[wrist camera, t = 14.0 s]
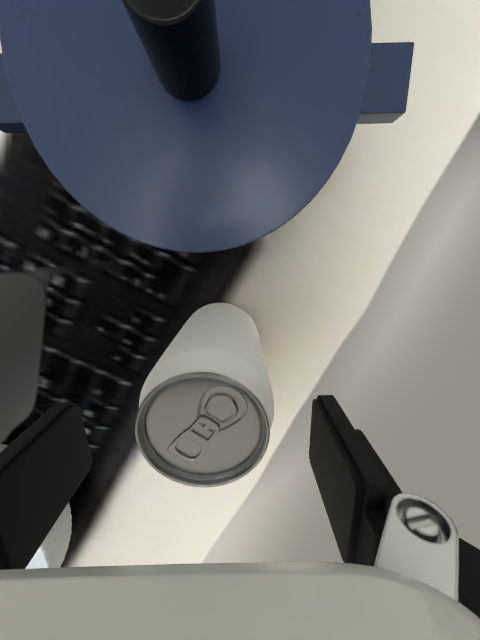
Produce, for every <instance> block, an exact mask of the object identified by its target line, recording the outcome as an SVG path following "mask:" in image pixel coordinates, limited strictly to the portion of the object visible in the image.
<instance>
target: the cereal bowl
mask: <svg viewBox="0 0 480 640" xmlns="http://www.w3.org/2000/svg"><path fill="white" fill-rule="evenodd" d="M7 446H8V445H6V444H1V443H0V452H1V451H2V450H3V449H5V448H6V447H7ZM71 519H72V515H71V508H70V505H69V503H68V504H67V506H66V507H65V509H64V510H63V512H62V513H61V515H60V516H59V518H58V519H57V521H56V523H55V524H54V526H53V527H52V529H51V530H50V532H49V533H48V535H47V536H46V538H45V539H44V541H43V543H42V544H41V546H40V547H39V549H38V550H37V552H36V553H35V555H34V556H33V558H32V559H31V561H30V563H29V564H28V566H27V567H26V568H25V569H38V568H60V566H61V564H62V562H63V560H64V557H65V554H66V551H67V549H68V544H69V542H70V535H71V527H72V523H71Z"/></svg>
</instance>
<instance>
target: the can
mask: <svg viewBox="0 0 480 640" xmlns="http://www.w3.org/2000/svg"><path fill="white" fill-rule="evenodd" d="M273 417H274V400H273V394H272V389H271V384H270V380H269V375H268V371H267V367H266V362H265V358H264V354H263V350H262V346H261V342H260V338H259V334H258V330H257V327H256V325H255V323H254V321H253V319H252V318H251V317H250V315H249V314H248V313H246V312H245V311H244V310H242V309H240V308H239V307H237V306H234V305H231V304H228V303H212V304H208V305H206V306H203V307H201V308H200V309H198V310H197V311H195V312H194V313H193V314H192V315H191V316H190V318H189V319H188V320H187V321H186V323H185V324H184V326H183V327H182V328H181V330H180V331H179V332H178V334H177V335H176V337H175V338H174V339H173V341H172V342H171V344H170V345H169V346H168V348H167V349H166V351H165V352H164V353H163V355H162V356H161V358H160V359H159V360H158V362H157V363H156V365H155V366H154V368H153V369H152V371H151V372H150V374H149V376H148V377H147V379H146V381H145V383H144V385H143V388H142V391H141V394H140V400H139V409H138V412H137V416H136V420H135V436H136V440H137V444H138V447H139V449H140V451H141V453H142V455H143V456H144V458H145V459H146V460H147V462H148V463H149V464H150V465H151V466H152V467H153V468H154V469H155V470H156V471H158V472H159V473H160V474H162V475H163V476H165V477H167V478H169V479H171V480H173V481H175V482H178V483H181V484H184V485H189V486H195V487H214V486H220V485H225V484H228V483H231V482H233V481H236V480H238V479H240V478H241V477H243V476H245V475H246V474H248V473H249V472H250V471H251V470H252V469H253V468H254V467H255V466H256V465H257V464H258V463H259V462H260V460H261V459H262V457H263V455H264V454H265V451H266V449H267V446H268V442H269V436H270V428H271V425H272V422H273Z"/></svg>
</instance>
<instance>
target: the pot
mask: <svg viewBox="0 0 480 640" xmlns="http://www.w3.org/2000/svg"><path fill="white" fill-rule="evenodd" d="M413 48H414V42H399V43H371V60H370V67H369V74H368V81H367V88H366V92H365V96H364V100H363V104H362V108H361V112H360V116H359V118H358V121H357V124H370V123H393V122H394V121H395V120H396V119H398V118H399V117H400V116H401V115H403V114H404V113H405V111H406V104H407V96H408V88H409V80H410V72H411V64H412V56H413ZM0 130H1V131H3V132H5V133H19V132H27V130H26V128H25V126H24V124H23V122H22V119H21V116H20V114H19V111H18V109H17V106H16V103H15V101H14V98H13V95H12V91H11V88H10V84H9V80H8V77H7V73H6V69H5V64H4V58H3V54H0Z"/></svg>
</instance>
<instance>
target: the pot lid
mask: <svg viewBox="0 0 480 640" xmlns="http://www.w3.org/2000/svg"><path fill="white" fill-rule="evenodd" d="M371 36H372V24H371V10H370V0H0V40H1V46H2V52H3V58H4V64H5V69H6V73H7V77H8V80H9V84H10V88H11V91H12V95H13V98H14V101H15V103H16V106H17V109H18V111H19V114H20V116H21V119H22V122H23V124H24V126H25V128H26V130H27V132H28V134H29V136H30V138H31V140H32V142H33V144H34V146H35V148H36V149H37V151H38V152H39V154H40V155H41V157H42V158H43V160H44V162H45V163H46V165H47V166H48V168H49V169H50V171H51V172H52V173H53V174H54V176H55V177H56V178H57V179H58V181H59V182H60V183H61V184H62V186H63V187H64V188H65V189H66V190H67V191H68V192H69V193H70V194H71V195H72V196H73V197H74V198H75V199H76V200H77V201H78V202H79V203H80V204H81V205H82V206H83V207H84V208H85V209H86V210H88V211H89V212H90V213H91V214H93V215H94V216H95V217H96V218H98V219H99V220H100V221H101V222H103V223H105V224H106V225H108V226H110V227H111V228H113V229H114V230H116V231H118V232H119V233H121V234H123V235H125V236H128V237H130V238H132V239H134V240H136V241H138V242H141V243H144V244H147V245H150V246H154V247H157V248H160V249H166V250H171V251H177V252H191V253H204V252H215V251H223V250H227V249H231V248H235V247H240V246H242V245H245V244H247V243H250V242H253V241H255V240H258V239H260V238H262V237H264V236H265V235H267V234H269V233H271V232H273V231H275V230H276V229H278V228H279V227H281V226H282V225H283V224H285V223H286V222H288V221H289V220H290V219H292V218H293V217H294V216H296V215H297V214H298V213H299V212H300V211H301V210H302V209H303V208H304V207H305V206H306V205H307V204H308V203H309V202H310V201H311V200H312V199H313V198H314V197H315V196H316V194H317V193H318V192H319V191H320V190H321V188H322V187H323V186H324V185H325V184H326V182H327V181H328V179H329V178H330V176H331V174H332V173H333V171H334V170H335V168H336V167H337V165H338V164H339V162H340V160H341V158H342V156H343V154H344V152H345V150H346V148H347V146H348V144H349V142H350V140H351V137H352V135H353V132H354V129H355V126H356V124H357V121H358V118H359V116H360V112H361V108H362V104H363V100H364V96H365V92H366V88H367V81H368V74H369V67H370V60H371Z"/></svg>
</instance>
